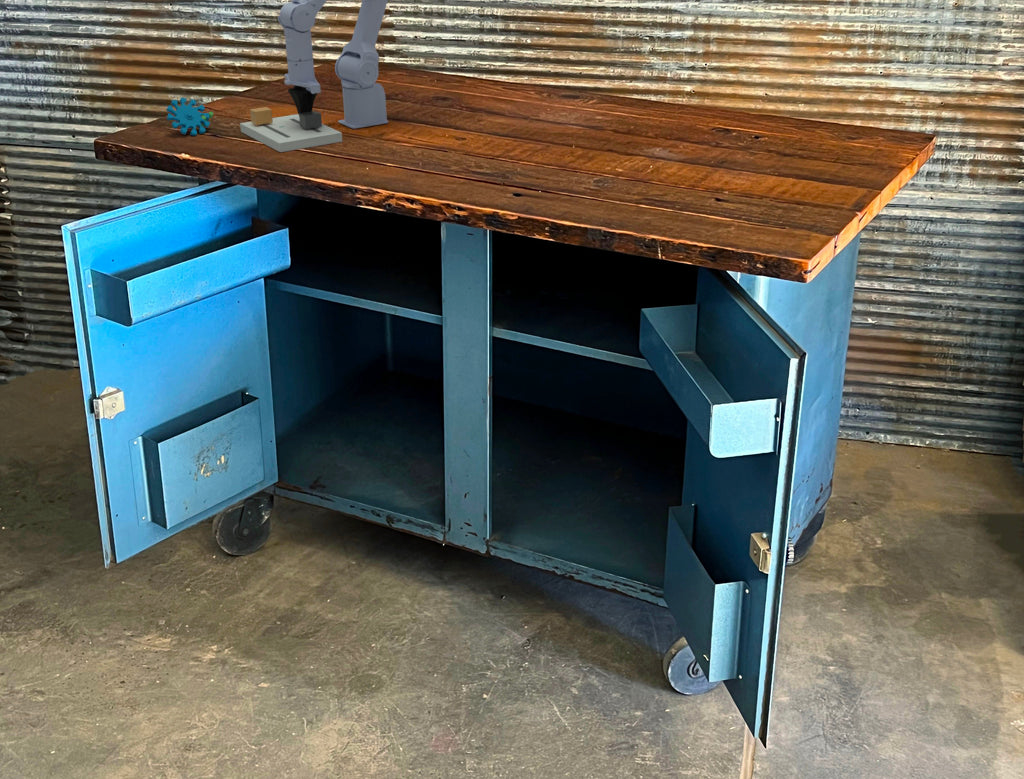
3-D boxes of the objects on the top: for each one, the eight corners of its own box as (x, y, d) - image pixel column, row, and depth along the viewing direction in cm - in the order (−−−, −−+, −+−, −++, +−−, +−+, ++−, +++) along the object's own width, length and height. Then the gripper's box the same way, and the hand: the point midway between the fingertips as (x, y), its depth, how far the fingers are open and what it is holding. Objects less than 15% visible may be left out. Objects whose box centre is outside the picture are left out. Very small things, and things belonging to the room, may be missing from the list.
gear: (174, 132, 279) (162, 95, 282) (167, 147, 284) (156, 110, 286) (220, 132, 285) (208, 95, 288) (213, 146, 290) (201, 110, 293)
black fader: (316, 123, 281) (315, 110, 280) (322, 126, 279) (320, 113, 278) (300, 126, 279) (298, 113, 278) (305, 129, 277) (304, 115, 276)
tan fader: (267, 119, 285) (266, 106, 284) (272, 122, 283) (271, 109, 282) (251, 122, 283) (249, 109, 282) (256, 125, 281) (255, 112, 280)
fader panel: (300, 122, 293) (299, 113, 292) (342, 141, 276) (341, 132, 275) (241, 131, 285) (240, 123, 285) (280, 152, 269) (279, 143, 268)
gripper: (270, 56, 278) (276, 116, 284) (297, 66, 267) (303, 128, 273) (298, 52, 282) (304, 111, 288) (326, 62, 271) (331, 123, 277)
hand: (305, 119), depth 281 cm, fingers closed
